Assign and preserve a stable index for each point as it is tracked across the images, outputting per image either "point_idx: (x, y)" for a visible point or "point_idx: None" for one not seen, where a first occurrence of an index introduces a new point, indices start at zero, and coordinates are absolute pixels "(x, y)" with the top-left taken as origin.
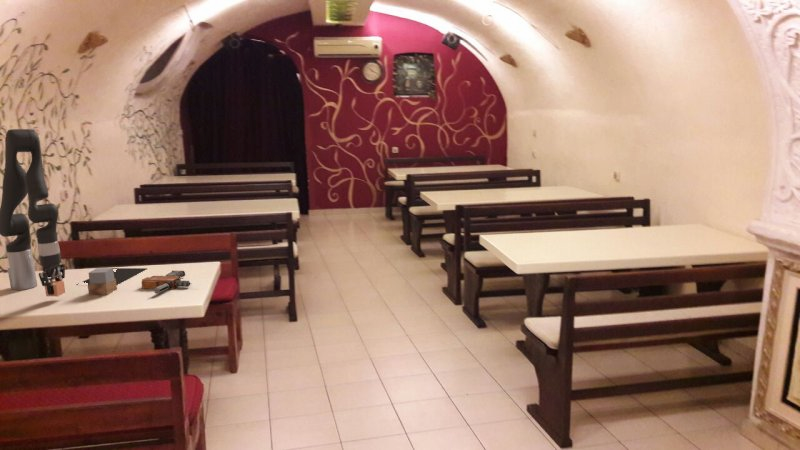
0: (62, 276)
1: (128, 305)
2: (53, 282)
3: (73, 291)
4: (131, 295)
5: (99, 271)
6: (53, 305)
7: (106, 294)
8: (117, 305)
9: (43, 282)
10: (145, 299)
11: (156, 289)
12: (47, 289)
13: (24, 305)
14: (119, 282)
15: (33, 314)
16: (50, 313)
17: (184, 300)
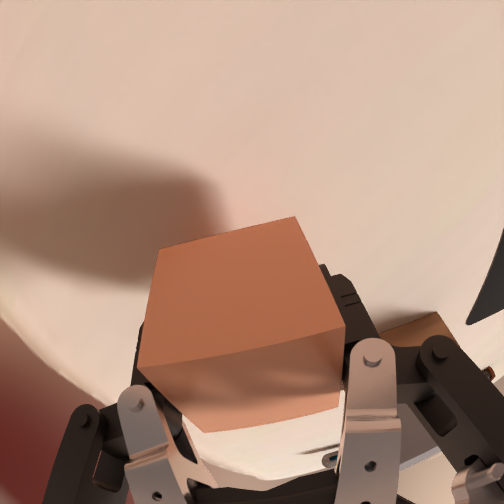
0: (409, 404)
1: (245, 455)
2: (267, 387)
3: (441, 198)
4: (333, 426)
5: (409, 464)
6: (140, 309)
7: (345, 391)
8: (238, 448)
9: (84, 452)
10: (296, 452)
11: (324, 466)
12: (136, 361)
13: (49, 87)
14: (495, 307)
15: (15, 316)
16: (71, 368)
17: (293, 471)
